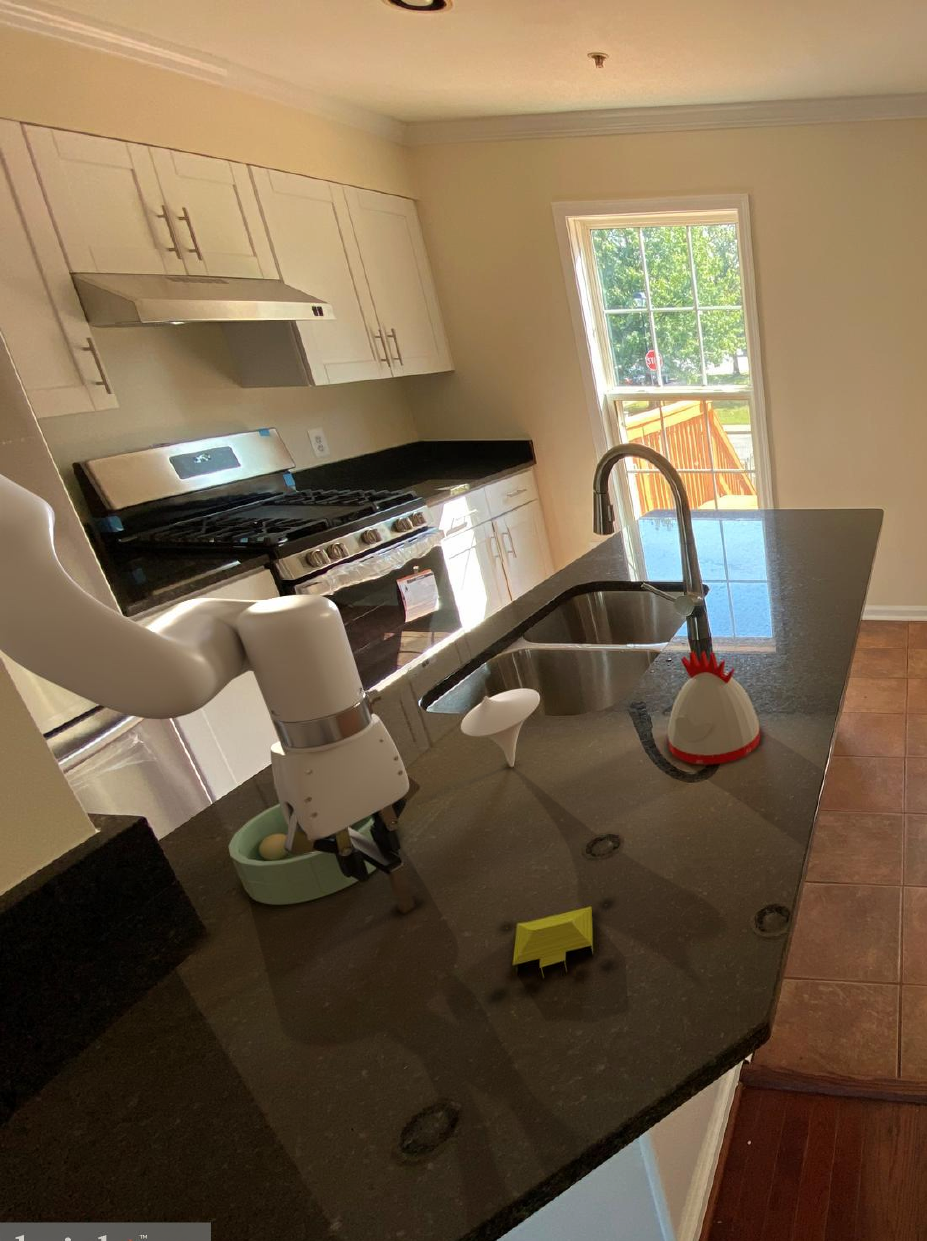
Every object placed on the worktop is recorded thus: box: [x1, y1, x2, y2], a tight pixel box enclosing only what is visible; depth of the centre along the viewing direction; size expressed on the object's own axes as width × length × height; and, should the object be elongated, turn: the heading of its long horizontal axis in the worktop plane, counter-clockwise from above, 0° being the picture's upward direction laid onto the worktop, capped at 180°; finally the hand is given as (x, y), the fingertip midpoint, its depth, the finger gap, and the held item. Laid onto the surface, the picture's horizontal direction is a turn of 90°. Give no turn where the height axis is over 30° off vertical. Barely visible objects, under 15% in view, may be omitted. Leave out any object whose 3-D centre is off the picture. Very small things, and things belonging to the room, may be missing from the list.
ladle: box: [294, 827, 416, 914], centre depth 78 cm, size 19×5×7 cm, turn 62°
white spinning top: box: [460, 688, 541, 768], centre depth 99 cm, size 10×11×12 cm
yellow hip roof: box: [497, 903, 608, 998], centre depth 70 cm, size 10×9×3 cm
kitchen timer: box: [667, 650, 761, 766], centre depth 105 cm, size 14×14×15 cm
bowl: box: [228, 803, 377, 906], centre depth 81 cm, size 14×14×6 cm
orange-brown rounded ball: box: [259, 834, 289, 860], centre depth 81 cm, size 3×3×3 cm
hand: (374, 866), depth 76 cm, fingers closed
